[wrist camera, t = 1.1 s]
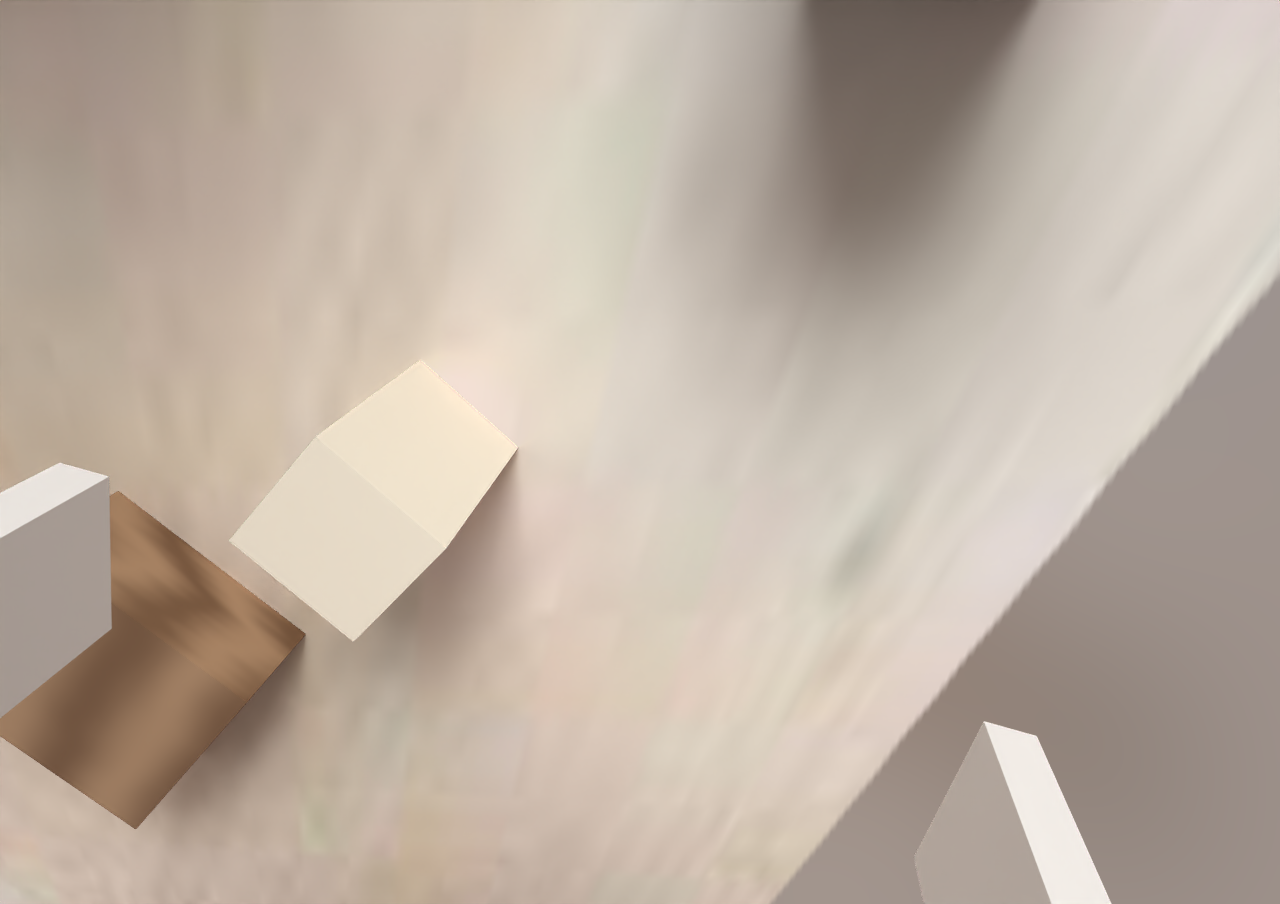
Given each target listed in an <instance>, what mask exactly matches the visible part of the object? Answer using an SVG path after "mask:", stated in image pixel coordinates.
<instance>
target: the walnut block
mask: <svg viewBox="0 0 1280 904" xmlns="http://www.w3.org/2000/svg"><path fill="white" fill-rule="evenodd" d="M109 497H110V558H111V619H112V629H111V630H109V631H108V632H107V633H106V634H104V635H103V636H102V637H101V638H99V639H98V640H97V641H96V642H94V643H93V644H92V645H91V646H89V647H88V648H87V649H86V650H84V651H83V652H82V653H81V654H79V655H78V656H77V657H76V658H75V659H73V660H72V661H71V662H70V663H68V664H67V665H66V666H65V667H63V668H62V669H61V670H60V671H58V672H57V673H56V674H55V675H53V676H52V677H51V678H50V679H48V680H47V681H46V682H45V683H43V684H42V685H41V686H40V687H38V688H37V689H36V690H35V691H33V692H32V693H31V694H30V695H29V696H27V697H26V698H25V699H24V700H22V701H21V702H20V703H19V704H17V705H16V706H15V707H14V708H12V709H11V710H10V711H9V712H7V713H6V714H5V715H4V716H2V717H1V718H0V736H1V737H2V738H4V739H5V740H6V741H8V742H9V743H11V744H12V745H14V746H15V747H17V748H18V749H20V750H21V751H22V752H24V753H25V754H27V755H28V756H30V757H31V758H33V759H34V760H36V761H37V762H38V763H40V764H41V765H43V766H44V767H46V768H47V769H49V770H50V771H52V772H53V773H54V774H56V775H57V776H59V777H60V778H62V779H63V780H65V781H66V782H68V783H69V784H70V785H72V786H73V787H75V788H76V789H78V790H79V791H81V792H82V793H83V794H85V795H86V796H88V797H89V798H91V799H92V800H94V801H95V802H97V803H98V804H99V805H101V806H102V807H104V808H105V809H107V810H108V811H110V812H111V813H113V814H114V815H115V816H117V817H118V818H120V819H121V820H123V821H124V822H126V823H127V824H129V825H130V826H131V827H133V828H134V829H137V827H138V826H139V825H140V824H141V823H142V822H143V821H144V819H145V818H146V817H147V816H148V815H149V814H150V813H151V811H152V810H153V809H154V808H155V807H156V806H157V805H158V803H159V802H160V801H161V800H162V799H163V798H164V797H165V795H166V794H167V793H168V792H169V791H170V790H171V789H172V787H173V786H174V785H175V784H176V783H177V782H178V781H179V779H180V778H181V777H182V776H183V775H184V774H185V773H186V771H187V770H188V769H189V768H190V767H191V766H192V765H193V763H194V762H195V761H196V760H197V759H198V758H199V757H200V755H201V754H202V753H203V752H204V751H205V750H206V749H207V747H208V746H209V745H210V744H211V743H212V742H213V741H214V739H215V738H216V737H217V736H218V735H219V734H220V733H221V731H222V730H223V729H224V728H225V727H226V726H227V725H228V723H229V722H230V721H231V720H232V719H233V718H234V717H235V715H236V714H237V713H238V712H239V711H240V710H241V709H242V707H243V706H244V705H245V704H246V703H247V702H248V701H249V699H250V698H251V697H252V696H253V695H254V694H255V692H256V691H257V690H258V689H259V688H260V687H261V685H262V684H263V683H264V682H265V681H266V680H267V679H268V677H269V676H270V675H271V674H272V673H273V672H274V670H275V669H276V668H277V667H278V666H279V665H280V663H281V662H282V661H283V660H284V659H285V658H286V657H287V655H288V654H289V653H290V652H291V651H292V650H293V648H294V647H295V646H296V645H297V644H298V643H299V641H300V640H301V639H302V638H303V637H304V636H305V633H304V632H302V631H301V630H300V629H298V628H297V627H296V626H295V625H293V624H292V623H291V622H289V621H288V620H287V619H285V618H284V617H283V616H281V615H280V614H279V613H278V612H276V611H275V610H274V609H272V608H271V607H270V606H268V605H267V604H266V603H264V602H263V601H262V600H260V599H259V598H258V597H257V596H255V595H254V594H253V593H251V592H250V591H249V590H247V589H246V588H245V587H243V586H242V585H241V584H239V583H238V582H237V581H236V580H234V579H233V578H232V577H230V576H229V575H228V574H226V573H225V572H224V571H222V570H221V569H220V568H219V567H217V566H216V565H215V564H213V563H212V562H211V561H209V560H208V559H207V558H205V557H204V556H203V555H201V554H200V553H199V552H198V551H196V550H195V549H194V548H192V547H191V546H190V545H188V544H187V543H186V542H184V541H183V540H182V539H181V538H179V537H178V536H177V535H175V534H174V533H173V532H171V531H170V530H169V529H167V528H166V527H165V526H163V525H162V524H161V523H160V522H158V521H157V520H156V519H154V518H153V517H152V516H150V515H149V514H148V513H146V512H145V511H144V510H142V509H141V508H140V507H139V506H137V505H136V504H135V503H133V502H132V501H131V500H129V499H128V498H127V497H125V496H124V495H123V494H122V493H120V492H119V491H118V492H116V493H114V494H113V495H111V496H109Z"/></svg>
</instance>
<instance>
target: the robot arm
mask: <svg viewBox="0 0 1280 904" xmlns="http://www.w3.org/2000/svg"><path fill="white" fill-rule="evenodd" d="M111 629H112V619H111V558H110V497H109V476H106V475H102V474H98V473H95V472H91V471H88V470H84V469H81V468H77V467H73V466H70V465H66V464H63V463H58V464H56V465H54V466H52V467H50V468H48V469H46V470H44V471H42V472H40V473H38V474H36V475H34V476H32V477H30V478H28V479H26V480H24V481H22V482H20V483H18V484H16V485H15V486H13V487H11V488H9V489H7V490H5V491H3V492H1V493H0V718H1V717H2V716H4V715H5V714H6V713H7V712H9V711H10V710H11V709H12V708H14V707H15V706H16V705H17V704H19V703H20V702H21V701H22V700H24V699H25V698H26V697H27V696H29V695H30V694H31V693H32V692H33V691H35V690H36V689H37V688H38V687H40V686H41V685H42V684H43V683H45V682H46V681H47V680H48V679H50V678H51V677H52V676H53V675H55V674H56V673H57V672H58V671H60V670H61V669H62V668H63V667H65V666H66V665H67V664H68V663H70V662H71V661H72V660H73V659H75V658H76V657H77V656H78V655H79V654H81V653H82V652H83V651H84V650H86V649H87V648H88V647H89V646H91V645H92V644H93V643H94V642H96V641H97V640H98V639H99V638H101V637H102V636H103V635H104V634H106V633H107V632H108V631H109V630H111ZM914 860H915V865H916V869H917V874H918V879H919V884H920V888H921V893H922V898H923V902H924V904H1111V902H1110V900H1109V898H1108V895H1107V893H1106V891H1105V889H1104V887H1103V884H1102V882H1101V880H1100V877H1099V875H1098V873H1097V871H1096V868H1095V866H1094V864H1093V862H1092V859H1091V857H1090V855H1089V853H1088V850H1087V848H1086V846H1085V844H1084V841H1083V839H1082V837H1081V835H1080V832H1079V830H1078V828H1077V826H1076V824H1075V821H1074V819H1073V817H1072V815H1071V813H1070V810H1069V808H1068V806H1067V803H1066V801H1065V799H1064V797H1063V794H1062V792H1061V790H1060V788H1059V785H1058V783H1057V781H1056V779H1055V777H1054V774H1053V772H1052V770H1051V768H1050V765H1049V763H1048V761H1047V759H1046V756H1045V754H1044V752H1043V749H1042V747H1041V745H1040V743H1039V741H1038V738H1037V736H1034V735H1031V734H1027V733H1023V732H1020V731H1017V730H1013V729H1009V728H1006V727H1002V726H999V725H995V724H992V723H988V722H983V724H982V726H981V728H980V730H979V732H978V734H977V736H976V738H975V740H974V742H973V744H972V745H971V748H970V749H969V751H968V753H967V755H966V757H965V759H964V761H963V763H962V765H961V767H960V769H959V771H958V773H957V775H956V777H955V778H954V780H953V782H952V784H951V787H950V788H949V790H948V792H947V794H946V796H945V798H944V800H943V802H942V804H941V806H940V808H939V810H938V812H937V814H936V816H935V817H934V819H933V821H932V823H931V825H930V827H929V829H928V831H927V833H926V835H925V837H924V839H923V841H922V843H921V844H920V846H919V848H918V850H917V852H916V854H915V856H914Z"/></svg>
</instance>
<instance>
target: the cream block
mask: <svg viewBox="0 0 1280 904" xmlns="http://www.w3.org/2000/svg"><path fill="white" fill-rule="evenodd" d="M517 449H518V447H517V446H516V445H515V444H514V443H513V442H512V441H511V440H510V439H509V438H507V437H506V436H505V435H504V434H503V433H502V432H501V431H500V430H499V429H497V428H496V427H495V426H494V425H493V424H492V423H491V422H490V421H488V420H487V419H486V418H485V417H484V416H483V415H482V414H481V413H480V412H478V411H477V410H476V409H475V408H474V407H473V406H472V405H471V404H470V403H468V402H467V401H466V400H465V399H464V398H463V397H462V396H461V395H460V394H458V393H457V392H456V391H455V390H454V389H453V388H452V387H451V386H449V385H448V384H447V383H446V382H445V381H444V380H443V379H442V378H441V377H439V376H438V375H437V374H436V373H435V372H434V371H433V370H432V369H431V368H429V367H428V366H427V365H426V364H425V363H424V362H423V361H422V360H419V361H418V362H417V363H415V364H414V365H412V366H411V367H410V368H408V369H407V370H406V371H404V372H403V373H402V374H400V375H399V376H397V377H396V378H395V379H393V380H392V381H391V382H389V383H388V384H387V385H385V386H384V387H382V388H381V389H380V390H378V391H377V392H376V393H374V394H373V395H372V396H370V397H369V398H367V399H366V400H365V401H363V402H362V403H361V404H359V405H358V406H357V407H355V408H354V409H352V410H351V411H350V412H348V413H347V414H346V415H344V416H343V417H342V418H340V419H339V420H337V421H336V422H335V423H333V424H332V425H331V426H329V427H328V428H327V429H325V430H324V431H322V432H321V433H320V434H318V435H317V436H316V437H315V438H314V439H313V440H312V441H311V442H310V444H309V445H308V446H307V447H306V448H305V450H304V451H303V452H302V453H301V454H300V456H299V457H298V458H297V459H296V460H295V462H294V463H293V464H292V465H291V466H290V468H289V469H288V470H287V471H286V472H285V474H284V475H283V476H282V477H281V478H280V480H279V481H278V482H277V483H276V484H275V486H274V487H273V488H272V489H271V490H270V492H269V493H268V494H267V495H266V496H265V498H264V499H263V500H262V501H261V502H260V504H259V505H258V506H257V507H256V508H255V510H254V511H253V512H252V513H251V514H250V516H249V517H248V518H247V519H246V520H245V522H244V523H243V524H242V525H241V526H240V528H239V529H238V530H237V531H236V532H235V534H234V535H233V536H232V537H231V538H230V540H229V542H231V543H232V544H233V545H234V546H235V547H237V548H238V549H239V550H240V551H242V552H243V553H244V554H245V555H247V556H248V557H249V558H250V559H252V560H253V561H254V562H255V563H256V564H258V565H259V566H260V567H261V568H263V569H264V570H265V571H266V572H268V573H269V574H270V575H271V576H273V577H274V578H275V579H276V580H277V581H279V582H280V583H281V584H282V585H284V586H285V587H286V588H287V589H289V590H290V591H291V592H292V593H294V594H295V595H296V596H297V597H298V598H300V599H301V600H302V601H303V602H305V603H306V604H307V605H308V606H310V607H311V608H312V609H313V610H315V611H316V612H317V613H318V614H319V615H321V616H322V617H323V618H324V619H326V620H327V621H328V622H329V623H331V624H332V625H333V626H334V627H336V628H337V629H338V630H339V631H340V632H342V633H343V634H344V635H345V636H347V637H348V638H349V639H350V640H352V641H353V642H354V641H355V640H356V639H357V638H358V637H359V636H360V635H361V634H362V633H363V632H364V631H365V630H366V629H367V628H368V627H369V626H370V625H371V624H372V623H373V622H374V621H375V620H376V619H377V618H378V617H379V616H380V615H381V614H382V613H383V612H384V611H385V610H386V609H387V608H388V607H389V606H390V605H391V604H392V603H393V602H394V601H395V600H396V599H397V598H398V597H399V596H400V595H401V594H402V592H403V591H404V590H405V589H406V588H407V587H408V586H409V585H410V584H411V583H412V582H413V581H414V580H415V579H416V578H417V577H418V576H419V575H420V574H421V573H422V572H423V571H424V570H425V569H426V568H427V567H428V566H429V565H430V564H431V563H432V562H433V561H434V560H435V559H436V558H437V557H438V556H439V555H440V554H441V553H442V552H443V551H444V550H445V549H446V548H447V547H448V545H449V544H450V542H451V541H452V540H453V538H454V537H455V535H456V534H457V533H458V531H459V530H460V528H461V527H462V526H463V524H464V523H465V521H466V520H467V519H468V517H469V516H470V514H471V513H472V512H473V510H474V509H475V507H476V506H477V505H478V503H479V502H480V500H481V499H482V498H483V496H484V495H485V493H486V492H487V491H488V489H489V488H490V486H491V485H492V484H493V482H494V481H495V479H496V478H497V477H498V475H499V474H500V472H501V471H502V470H503V468H504V467H505V465H506V464H507V463H508V461H509V460H510V458H511V457H512V456H513V454H514V453H515V451H516V450H517Z"/></svg>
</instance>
